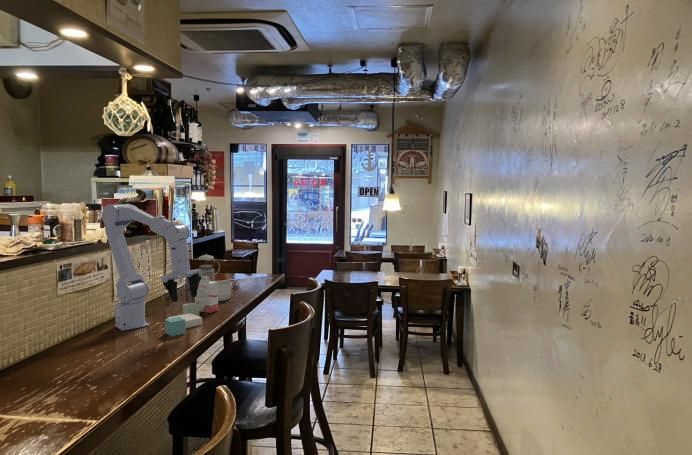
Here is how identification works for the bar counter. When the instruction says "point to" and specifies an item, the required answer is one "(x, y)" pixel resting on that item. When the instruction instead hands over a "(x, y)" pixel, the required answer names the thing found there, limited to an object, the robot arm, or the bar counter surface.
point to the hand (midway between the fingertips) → (184, 299)
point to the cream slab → (190, 320)
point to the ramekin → (224, 290)
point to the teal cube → (175, 326)
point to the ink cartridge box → (207, 295)
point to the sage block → (191, 308)
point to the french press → (208, 266)
